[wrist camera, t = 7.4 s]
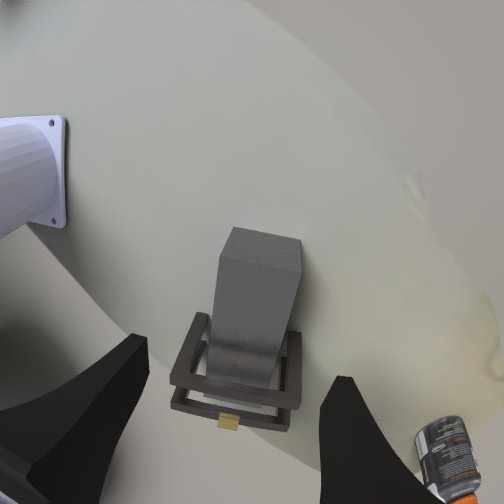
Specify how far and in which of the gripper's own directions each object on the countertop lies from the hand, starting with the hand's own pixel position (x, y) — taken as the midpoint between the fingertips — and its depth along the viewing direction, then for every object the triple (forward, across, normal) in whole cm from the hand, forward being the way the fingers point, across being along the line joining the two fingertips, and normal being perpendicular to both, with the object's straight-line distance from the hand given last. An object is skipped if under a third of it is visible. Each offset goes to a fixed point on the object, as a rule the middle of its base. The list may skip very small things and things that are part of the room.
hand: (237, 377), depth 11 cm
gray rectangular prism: (+9, 0, +4) cm, 10 cm away
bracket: (+9, 0, +5) cm, 11 cm away
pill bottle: (+10, -23, +16) cm, 30 cm away
